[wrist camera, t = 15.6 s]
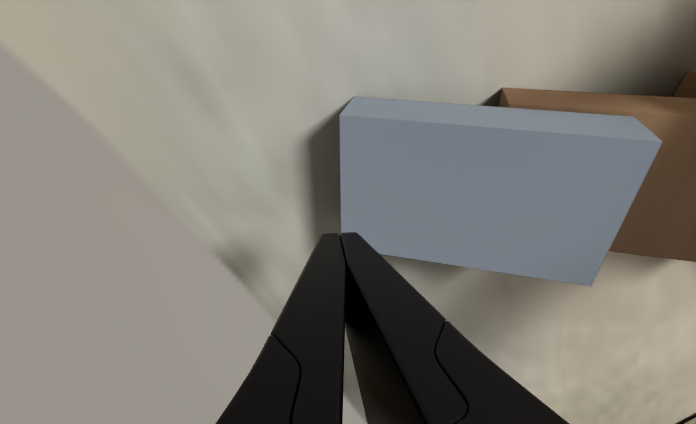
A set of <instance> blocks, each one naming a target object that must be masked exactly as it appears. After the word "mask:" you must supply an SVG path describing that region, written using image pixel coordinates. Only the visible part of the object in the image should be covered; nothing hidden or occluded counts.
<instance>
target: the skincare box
mask: <svg viewBox="0 0 696 424" xmlns="http://www.w3.org/2000/svg"><path fill="white" fill-rule="evenodd" d="M684 424H696V417H695V418H693V419H691V420H689V421H688V422H686V423H684Z"/></svg>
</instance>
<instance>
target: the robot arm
mask: <svg viewBox="0 0 696 424" xmlns="http://www.w3.org/2000/svg"><path fill="white" fill-rule="evenodd" d="M445 321H446V319H445V318H444V317H443V316H442V315H441V314H440V313H439V312H438V311H437V310H436V309H435V308H434V307H433V306H432V305H431V304H430V303H429V302H428V301H427V300H426V299H425V298H424V297H423V296H422V295H421V294H420V293H419V292H418V291H417V290H416V289H415V288H414V287H413V286H412V285H411V284H409V283H408V282H407V281H406V280H405V279H404V278H403V277H402V276H401V275H400V274H399V273H398V272H397V271H396V270H395V269H394V268H393V267H392V266H391V265H390V264H389V263H388V262H387V261H386V260H385V259H384V258H383V257H382V256H381V255H380V254H379V253H378V252H377V251H376V250H375V249H374V248H373V247H372V246H371V245H370V244H369V243H368V242H367V241H365V240H364V239H363V238H362V237H361V236H360V235H359V234H358V233H357V232H346V233H341V234H340V235H339V234H337V233H326V234H322V235H321V236H320V238H319V240H318V242H317V244H316V246H315V248H314V249H313V251H312V253H311V255H310V257H309V259H308V261H307V263H306V265H305V267H304V269H303V271H302V273H301V275H300V277H299V279H298V281H297V283H296V285H295V287H294V289H293V291H292V293H291V295H290V297H289V298H288V300H287V302H286V304H285V306H284V308H283V310H282V312H281V314H280V316H279V318H278V320H277V322H276V324H275V326H274V328H273V330H272V332H271V335H270V336H269V337H268V339H267V341H266V343H265V345H264V347H263V349H262V351H261V353H260V355H259V356H258V358H257V360H256V362H255V364H254V365H253V367H252V369H251V371H250V373H249V374H248V376H247V377H246V379H245V380H244V382H243V384H242V385H241V387H240V388H239V390H238V391H237V393H236V394H235V396H234V397H233V399H232V401H231V402H230V403H229V405H228V406H227V408H226V409H225V411H224V412H223V414H222V415H221V417H220V418H219V419H218V421H217V423H216V424H342V413H343V410H342V409H343V376H344V339H345V328H346V333H347V337H348V341H349V346H350V350H351V354H352V359H353V363H354V367H355V371H356V376H357V380H358V384H359V389H360V393H361V397H362V401H363V406H364V410H365V414H366V419H367V423H368V424H569V423H568V422H567V421H565V420H564V419H563V418H561V417H560V416H559V415H558V414H557V413H555V412H554V411H553V410H552V409H550V408H549V407H548V406H547V405H545V404H544V403H543V402H542V401H540V400H539V399H538V398H537V397H535V396H534V395H533V394H532V393H530V392H529V391H528V390H527V389H525V388H524V387H523V386H522V385H520V384H519V383H518V382H517V381H515V380H514V379H513V378H512V377H510V376H509V375H508V374H507V373H505V372H504V371H503V370H502V369H501V368H499V367H498V366H497V365H496V364H495V363H493V362H492V361H491V360H490V359H489V358H488V357H486V356H485V355H484V354H483V353H482V352H480V351H479V350H478V349H477V348H476V347H475V346H474V345H473V344H472V343H471V342H470V341H468V340H467V339H466V338H465V337H464V336H463V335H462V334H461V333H460V332H459V331H458V330H457V329H456V328H455V327H454V326H453V325H452V324H451V323H450V322H449V321H446V322H445Z"/></svg>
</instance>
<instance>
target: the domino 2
mask: <svg viewBox="0 0 696 424" xmlns="http://www.w3.org/2000/svg"><path fill="white" fill-rule="evenodd" d="M498 107H506V108H520V109H534V110H548V111H562V112H576V113H590V114H604V115H618V116H632V117H635V118H636V119H637V120H638V121H640V122H641V123H642V124H643V125H644V126H645V127H646V128H648V129H649V130H650V131H651V132H652V133H653V134H655V135H656V136H657V137H658V138H659V139H660V140H661V141H663V142H662V144H661V146H660V148H659V150H658V152H657V154H656V156H655V158H654V160H653V162H652V164H651V166H650V168H649V170H648V172H647V174H646V176H645V178H644V180H643V182H642V184H641V186H640V188H639V190H638V192H637V194H636V196H635V198H634V200H633V202H632V204H631V206H630V208H629V210H628V212H627V214H626V216H625V218H624V220H623V222H622V224H621V226H620V228H619V230H618V232H617V235H616V237H615V239H614V241H613V243H612V245H611V247H610V249H609V251H613V252H621V253H629V254H637V255H645V256H653V257H661V258H669V259H677V260H685V261H693V262H696V98H680V97H662V96H644V95H626V94H607V93H589V92H571V91H553V90H535V89H517V88H502V91H501V95H500V100H499V104H498Z"/></svg>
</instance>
